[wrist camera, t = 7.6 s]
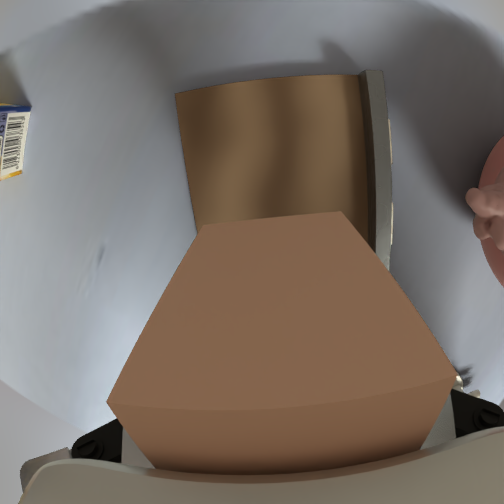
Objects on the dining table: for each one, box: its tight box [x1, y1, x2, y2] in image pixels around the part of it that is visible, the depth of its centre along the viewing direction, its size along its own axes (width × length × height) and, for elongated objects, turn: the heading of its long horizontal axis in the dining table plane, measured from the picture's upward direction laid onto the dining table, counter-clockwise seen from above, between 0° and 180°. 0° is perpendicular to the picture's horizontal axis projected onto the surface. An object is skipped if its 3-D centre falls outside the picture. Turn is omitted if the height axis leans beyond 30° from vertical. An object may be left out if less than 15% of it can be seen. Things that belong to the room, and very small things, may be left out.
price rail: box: [357, 70, 393, 271], centre depth 22 cm, size 2×22×4 cm, turn 7°
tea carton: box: [106, 211, 458, 475], centre depth 9 cm, size 8×5×8 cm, turn 7°
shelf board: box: [175, 75, 368, 244], centre depth 23 cm, size 13×22×2 cm, turn 7°
